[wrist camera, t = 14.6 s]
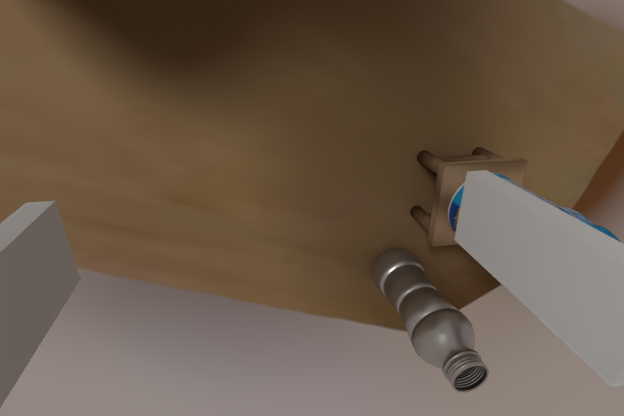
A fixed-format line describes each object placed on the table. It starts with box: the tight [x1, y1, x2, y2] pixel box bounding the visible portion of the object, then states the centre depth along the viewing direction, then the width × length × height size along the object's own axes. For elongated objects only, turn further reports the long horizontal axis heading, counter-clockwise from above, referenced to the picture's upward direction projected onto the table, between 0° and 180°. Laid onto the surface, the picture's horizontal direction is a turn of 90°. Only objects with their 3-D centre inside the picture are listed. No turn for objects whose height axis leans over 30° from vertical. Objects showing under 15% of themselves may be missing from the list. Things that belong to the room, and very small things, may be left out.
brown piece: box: [410, 147, 528, 247], centre depth 46 cm, size 10×10×7 cm
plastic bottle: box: [372, 249, 488, 392], centre depth 44 cm, size 6×7×20 cm
